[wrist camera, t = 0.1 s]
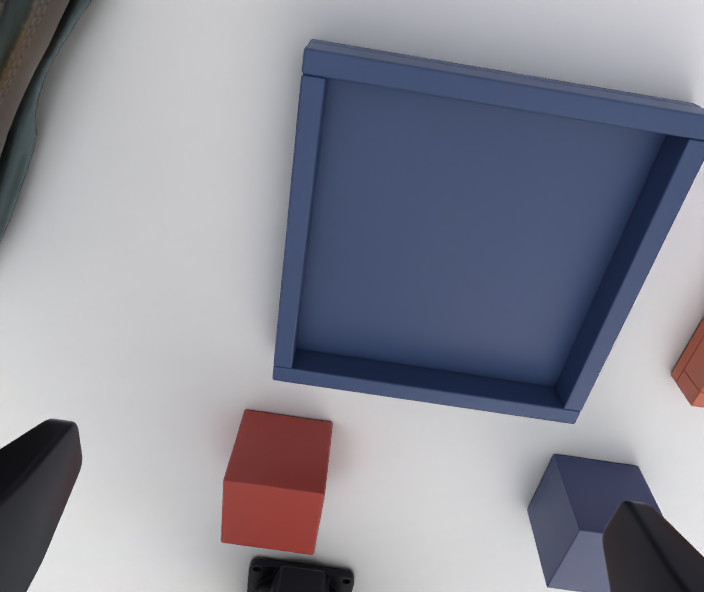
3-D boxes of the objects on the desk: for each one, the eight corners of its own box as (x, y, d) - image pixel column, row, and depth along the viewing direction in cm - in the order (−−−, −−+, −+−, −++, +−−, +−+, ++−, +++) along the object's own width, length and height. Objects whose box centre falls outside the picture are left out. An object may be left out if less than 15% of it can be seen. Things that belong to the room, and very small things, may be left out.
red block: (322, 481, 31) (313, 555, 27) (240, 469, 31) (220, 543, 27) (332, 421, 29) (324, 494, 25) (244, 409, 28) (222, 480, 25)
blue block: (605, 521, 31) (636, 599, 28) (526, 509, 31) (546, 587, 27) (638, 465, 29) (677, 544, 25) (553, 453, 29) (579, 530, 25)
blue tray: (562, 393, 27) (574, 424, 25) (279, 351, 26) (271, 380, 25) (694, 103, 20) (725, 118, 18) (311, 38, 19) (303, 47, 17)
